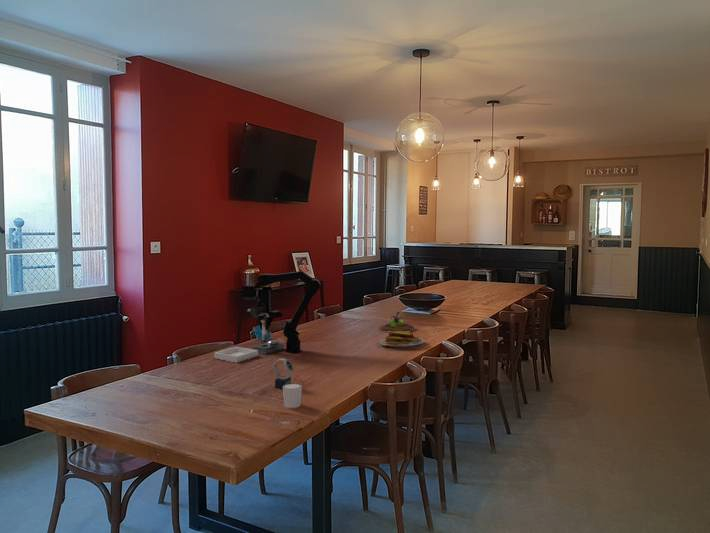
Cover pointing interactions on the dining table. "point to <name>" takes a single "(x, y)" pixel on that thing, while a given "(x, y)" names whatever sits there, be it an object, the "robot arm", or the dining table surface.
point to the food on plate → (401, 339)
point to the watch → (281, 379)
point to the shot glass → (292, 395)
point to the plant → (396, 325)
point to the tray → (236, 354)
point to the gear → (261, 333)
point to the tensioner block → (269, 347)
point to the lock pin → (264, 329)
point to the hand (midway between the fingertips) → (264, 329)
